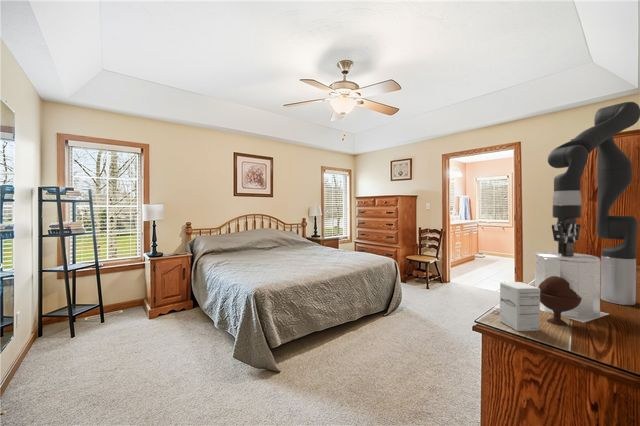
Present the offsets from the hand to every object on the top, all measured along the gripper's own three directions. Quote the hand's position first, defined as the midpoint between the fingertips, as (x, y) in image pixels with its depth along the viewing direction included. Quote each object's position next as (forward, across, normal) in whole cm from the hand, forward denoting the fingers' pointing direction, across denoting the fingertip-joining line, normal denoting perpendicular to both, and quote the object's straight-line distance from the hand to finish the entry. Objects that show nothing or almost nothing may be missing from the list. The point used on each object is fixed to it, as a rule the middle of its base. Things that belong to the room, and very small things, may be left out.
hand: (565, 253), depth 98 cm
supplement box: (+21, +29, +1) cm, 35 cm away
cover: (+20, 0, 0) cm, 20 cm away
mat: (+20, 0, 0) cm, 20 cm away
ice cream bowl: (+21, +16, +5) cm, 27 cm away
